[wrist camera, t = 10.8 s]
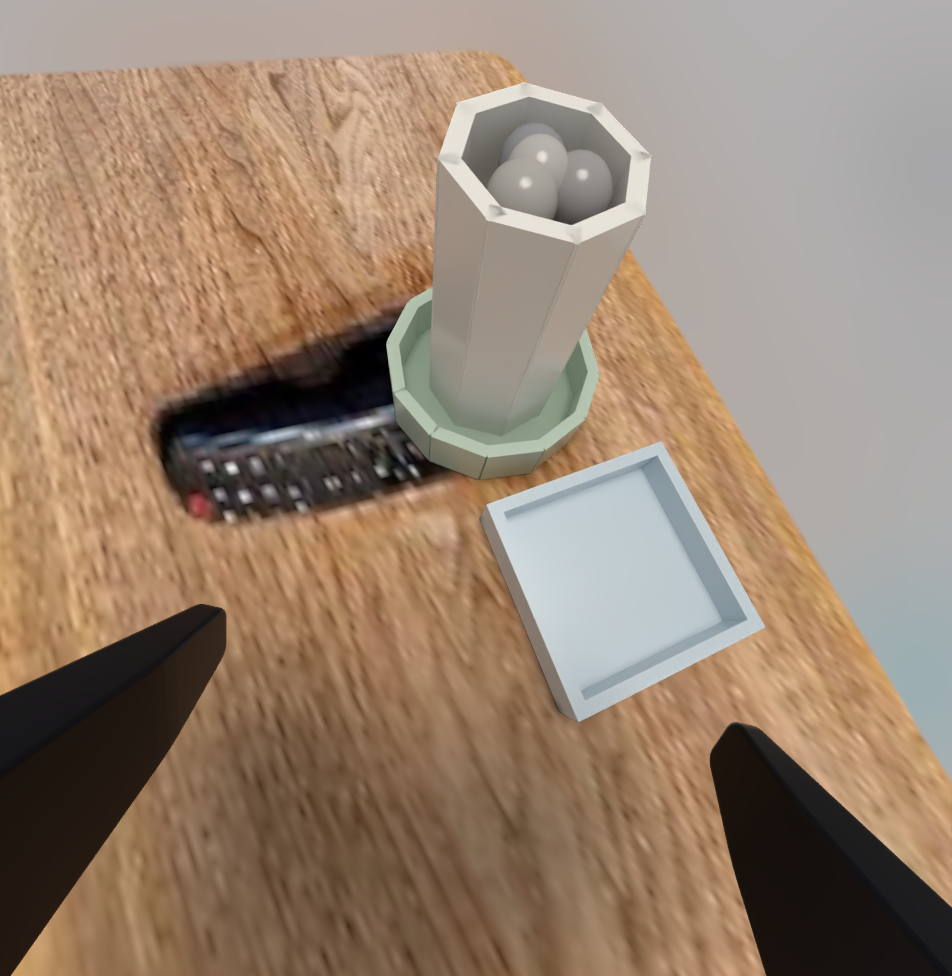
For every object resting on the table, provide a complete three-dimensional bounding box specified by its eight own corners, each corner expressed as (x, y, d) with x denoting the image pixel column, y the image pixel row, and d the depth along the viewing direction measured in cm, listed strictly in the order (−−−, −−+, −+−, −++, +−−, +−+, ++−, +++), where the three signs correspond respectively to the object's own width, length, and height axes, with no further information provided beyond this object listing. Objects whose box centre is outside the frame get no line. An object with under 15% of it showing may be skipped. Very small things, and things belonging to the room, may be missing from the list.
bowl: (547, 506, 23) (564, 487, 20) (360, 435, 23) (352, 406, 20) (596, 351, 27) (616, 317, 24) (434, 290, 27) (436, 248, 24)
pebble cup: (534, 445, 23) (648, 249, 12) (420, 417, 23) (421, 189, 11) (550, 350, 25) (662, 103, 14) (447, 324, 25) (470, 49, 13)
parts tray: (728, 628, 22) (765, 627, 20) (559, 712, 20) (578, 722, 18) (638, 460, 25) (661, 441, 22) (479, 518, 22) (486, 504, 20)
